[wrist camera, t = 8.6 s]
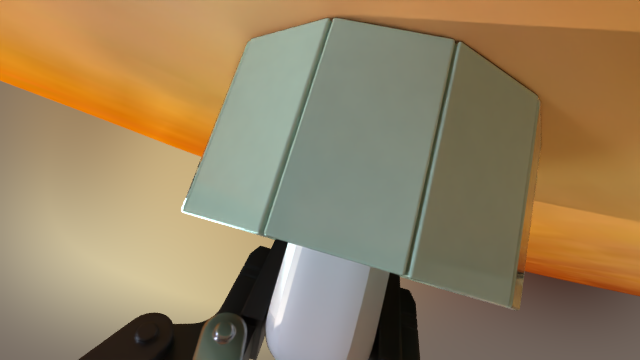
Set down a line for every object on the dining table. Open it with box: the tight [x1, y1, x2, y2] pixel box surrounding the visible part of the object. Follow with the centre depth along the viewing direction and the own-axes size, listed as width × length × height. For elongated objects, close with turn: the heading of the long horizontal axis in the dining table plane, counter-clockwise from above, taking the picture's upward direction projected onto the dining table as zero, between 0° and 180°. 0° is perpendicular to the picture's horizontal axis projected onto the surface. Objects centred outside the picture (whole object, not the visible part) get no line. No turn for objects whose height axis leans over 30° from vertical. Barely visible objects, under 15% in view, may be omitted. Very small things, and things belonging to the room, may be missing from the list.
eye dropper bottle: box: [265, 243, 390, 360], centre depth 10 cm, size 4×6×12 cm
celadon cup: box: [181, 18, 541, 310], centre depth 11 cm, size 10×10×5 cm
